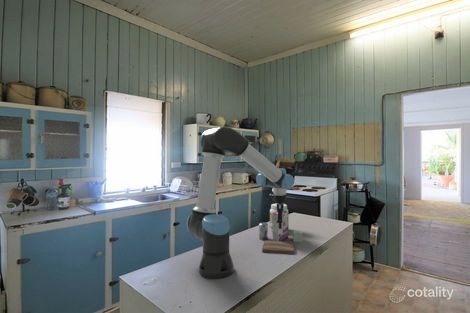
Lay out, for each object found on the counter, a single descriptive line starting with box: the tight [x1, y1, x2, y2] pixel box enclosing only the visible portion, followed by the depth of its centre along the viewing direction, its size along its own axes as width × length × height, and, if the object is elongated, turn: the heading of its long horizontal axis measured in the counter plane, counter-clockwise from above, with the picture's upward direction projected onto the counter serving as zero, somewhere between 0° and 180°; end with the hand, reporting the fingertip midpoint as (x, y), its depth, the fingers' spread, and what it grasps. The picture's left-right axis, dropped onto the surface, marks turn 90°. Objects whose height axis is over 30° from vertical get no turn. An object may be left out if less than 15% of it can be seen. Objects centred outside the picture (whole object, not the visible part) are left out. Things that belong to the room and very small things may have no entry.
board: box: [261, 239, 295, 255], centre depth 137 cm, size 14×16×2 cm
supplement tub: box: [269, 203, 290, 232], centre depth 169 cm, size 12×12×17 cm
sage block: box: [292, 230, 303, 243], centre depth 149 cm, size 5×5×5 cm
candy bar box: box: [272, 210, 289, 241], centre depth 151 cm, size 11×5×16 cm, turn 143°
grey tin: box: [258, 222, 269, 241], centre depth 153 cm, size 5×5×9 cm
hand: (280, 230), depth 151 cm, fingers open, 13 cm apart
